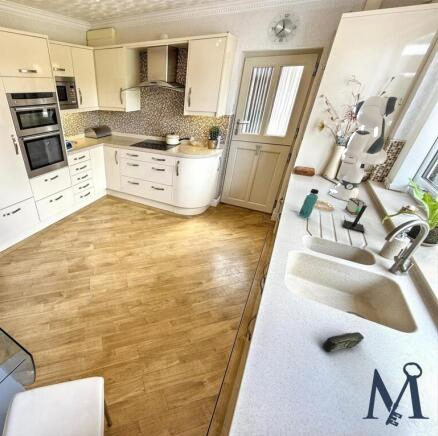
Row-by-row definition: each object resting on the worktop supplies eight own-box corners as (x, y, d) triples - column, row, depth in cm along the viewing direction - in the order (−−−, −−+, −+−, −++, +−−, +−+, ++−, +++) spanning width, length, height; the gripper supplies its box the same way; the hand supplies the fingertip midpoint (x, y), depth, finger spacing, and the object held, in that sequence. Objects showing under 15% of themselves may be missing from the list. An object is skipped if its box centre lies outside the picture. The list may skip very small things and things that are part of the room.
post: (342, 221, 153) (354, 200, 145) (362, 226, 148) (374, 205, 140) (343, 227, 145) (355, 206, 138) (363, 233, 141) (377, 211, 133)
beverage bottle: (308, 216, 157) (320, 188, 147) (309, 220, 151) (322, 192, 141) (297, 213, 159) (308, 186, 149) (298, 218, 154) (310, 190, 144)
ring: (310, 200, 179) (311, 198, 177) (331, 206, 172) (333, 203, 171) (309, 207, 169) (310, 204, 167) (331, 213, 162) (333, 210, 161)
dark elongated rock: (334, 345, 73) (371, 335, 76) (325, 337, 75) (361, 327, 78) (327, 354, 75) (363, 344, 78) (319, 345, 78) (354, 336, 81)
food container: (362, 219, 156) (370, 206, 151) (352, 217, 157) (360, 204, 152) (352, 210, 167) (359, 198, 162) (343, 209, 168) (349, 197, 162)
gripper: (345, 154, 156) (336, 174, 163) (343, 159, 142) (333, 181, 149) (357, 156, 153) (347, 176, 159) (356, 161, 139) (345, 183, 145)
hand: (340, 178), depth 154 cm, fingers open, 8 cm apart
